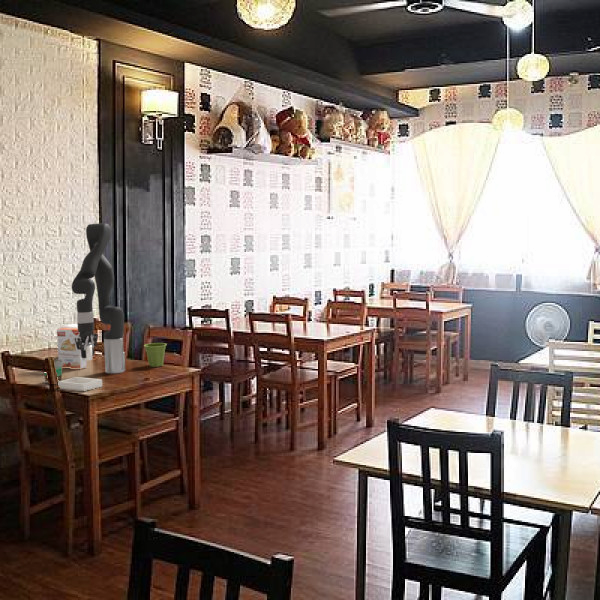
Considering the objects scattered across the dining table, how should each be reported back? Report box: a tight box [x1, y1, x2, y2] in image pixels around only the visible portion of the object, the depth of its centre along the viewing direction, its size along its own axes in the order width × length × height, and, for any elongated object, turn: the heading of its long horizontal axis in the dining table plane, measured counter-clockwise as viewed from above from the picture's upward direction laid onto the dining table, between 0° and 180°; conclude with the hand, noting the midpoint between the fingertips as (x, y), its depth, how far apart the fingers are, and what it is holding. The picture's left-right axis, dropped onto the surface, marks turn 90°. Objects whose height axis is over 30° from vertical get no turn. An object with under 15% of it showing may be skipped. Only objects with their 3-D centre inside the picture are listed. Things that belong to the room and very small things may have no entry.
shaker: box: [83, 342, 94, 362], centre depth 367 cm, size 4×4×8 cm
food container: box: [44, 358, 63, 385], centre depth 369 cm, size 12×6×10 cm, turn 168°
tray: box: [58, 376, 103, 392], centre depth 355 cm, size 12×16×4 cm
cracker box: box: [56, 328, 88, 369], centre depth 405 cm, size 14×6×21 cm, turn 68°
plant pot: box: [143, 342, 168, 368], centre depth 408 cm, size 12×12×11 cm
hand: (87, 356), depth 368 cm, fingers closed on shaker, 4 cm apart
